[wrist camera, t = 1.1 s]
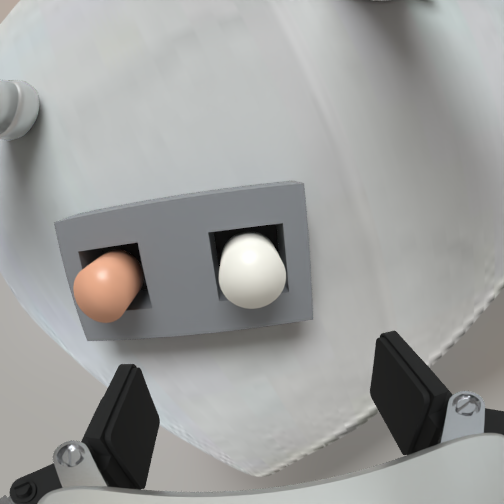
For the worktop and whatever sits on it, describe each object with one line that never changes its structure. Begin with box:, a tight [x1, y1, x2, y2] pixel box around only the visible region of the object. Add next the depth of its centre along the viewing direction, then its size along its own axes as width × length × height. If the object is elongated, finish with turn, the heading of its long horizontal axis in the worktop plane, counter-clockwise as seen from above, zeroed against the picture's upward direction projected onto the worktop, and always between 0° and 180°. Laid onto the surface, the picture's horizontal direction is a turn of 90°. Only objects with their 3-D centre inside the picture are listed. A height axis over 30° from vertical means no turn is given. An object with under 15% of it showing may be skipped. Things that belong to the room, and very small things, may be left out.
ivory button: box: [219, 231, 286, 309], centre depth 24 cm, size 5×5×5 cm
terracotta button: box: [73, 249, 144, 323], centre depth 24 cm, size 5×5×5 cm
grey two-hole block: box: [54, 181, 313, 341], centre depth 28 cm, size 22×12×5 cm, turn 97°
